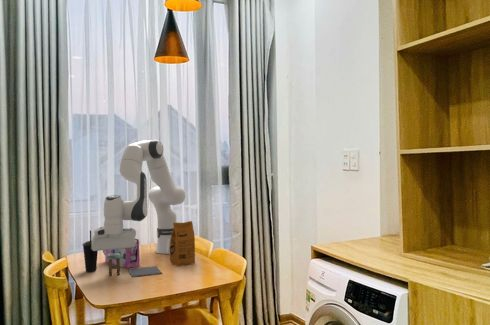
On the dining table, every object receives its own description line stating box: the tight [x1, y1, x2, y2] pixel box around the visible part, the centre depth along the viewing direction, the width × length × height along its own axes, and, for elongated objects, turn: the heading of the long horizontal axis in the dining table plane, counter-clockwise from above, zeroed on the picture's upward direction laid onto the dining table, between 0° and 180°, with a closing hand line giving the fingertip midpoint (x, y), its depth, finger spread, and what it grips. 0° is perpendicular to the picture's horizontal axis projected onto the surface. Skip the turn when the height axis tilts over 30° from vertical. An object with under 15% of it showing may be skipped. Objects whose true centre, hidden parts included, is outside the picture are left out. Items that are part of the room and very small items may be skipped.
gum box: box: [104, 238, 141, 269], centre depth 219 cm, size 24×8×14 cm, turn 47°
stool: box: [108, 253, 121, 277], centre depth 198 cm, size 5×5×10 cm
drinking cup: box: [82, 230, 99, 273], centre depth 205 cm, size 8×8×20 cm
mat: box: [127, 265, 163, 278], centre depth 202 cm, size 14×14×1 cm
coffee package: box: [169, 220, 196, 267], centre depth 218 cm, size 10×12×22 cm
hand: (114, 258), depth 198 cm, fingers closed on stool, 5 cm apart
